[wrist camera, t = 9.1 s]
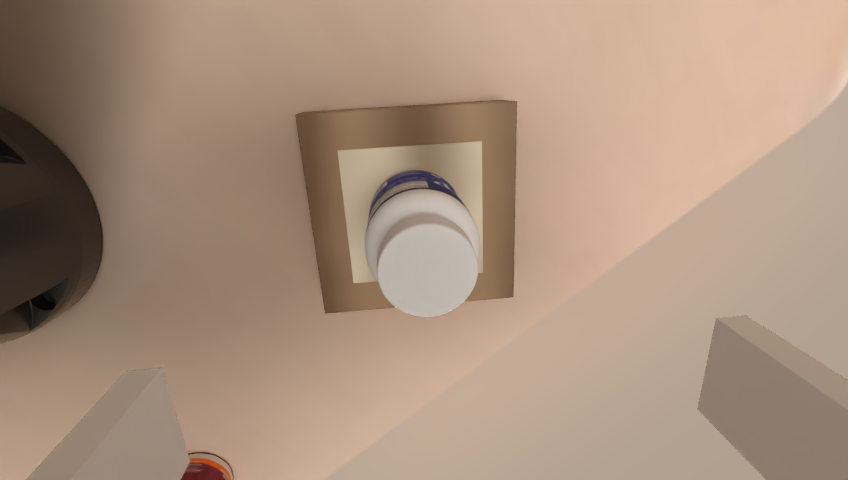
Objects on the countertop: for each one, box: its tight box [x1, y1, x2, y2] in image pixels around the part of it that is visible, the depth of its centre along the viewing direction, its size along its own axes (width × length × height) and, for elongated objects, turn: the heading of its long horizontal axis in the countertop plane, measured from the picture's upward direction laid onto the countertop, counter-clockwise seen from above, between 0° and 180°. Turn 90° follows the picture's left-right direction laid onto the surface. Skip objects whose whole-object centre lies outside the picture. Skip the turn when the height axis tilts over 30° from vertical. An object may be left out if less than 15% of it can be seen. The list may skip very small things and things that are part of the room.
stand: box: [296, 100, 517, 313], centre depth 26 cm, size 12×12×3 cm
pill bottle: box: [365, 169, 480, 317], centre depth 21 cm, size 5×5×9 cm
